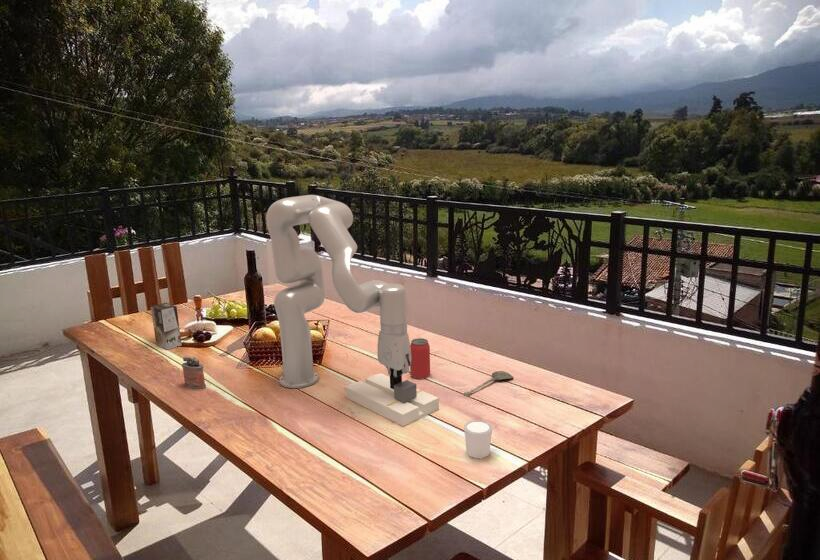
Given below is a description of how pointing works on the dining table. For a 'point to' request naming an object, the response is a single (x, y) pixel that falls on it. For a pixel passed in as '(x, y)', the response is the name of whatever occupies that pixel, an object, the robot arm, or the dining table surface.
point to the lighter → (193, 373)
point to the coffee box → (166, 325)
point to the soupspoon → (496, 376)
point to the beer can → (420, 358)
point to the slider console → (390, 400)
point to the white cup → (478, 438)
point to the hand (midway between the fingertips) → (396, 387)
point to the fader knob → (405, 391)
